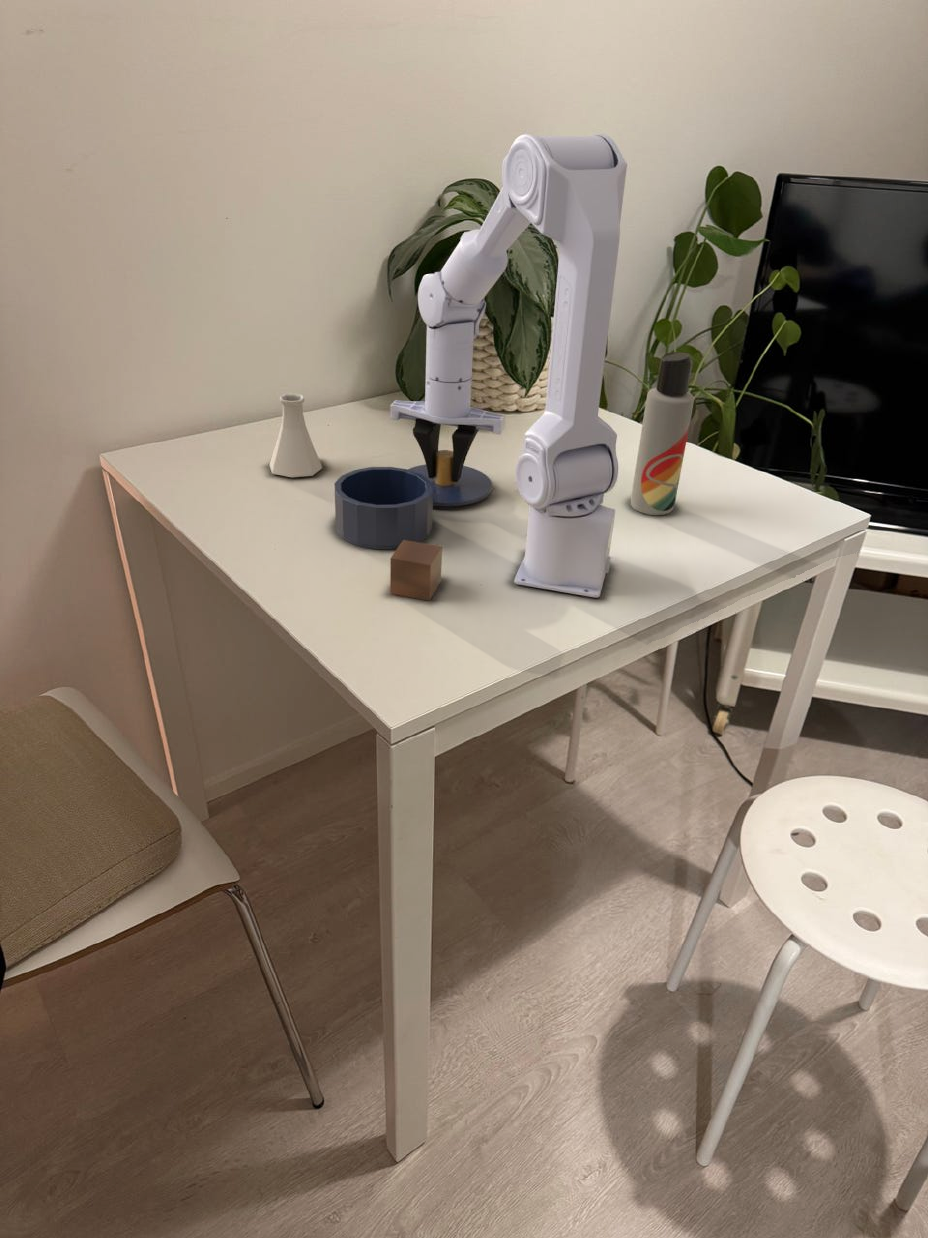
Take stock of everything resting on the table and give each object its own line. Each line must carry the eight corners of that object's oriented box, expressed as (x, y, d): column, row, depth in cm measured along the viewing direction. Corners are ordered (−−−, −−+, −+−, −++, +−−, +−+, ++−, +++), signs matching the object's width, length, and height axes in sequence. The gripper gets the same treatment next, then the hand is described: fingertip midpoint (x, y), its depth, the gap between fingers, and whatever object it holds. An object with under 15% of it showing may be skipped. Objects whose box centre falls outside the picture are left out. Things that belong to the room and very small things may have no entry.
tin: (442, 514, 114) (444, 474, 111) (415, 556, 104) (415, 514, 102) (355, 500, 116) (355, 461, 113) (321, 540, 107) (319, 498, 104)
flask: (318, 480, 121) (315, 408, 115) (264, 477, 121) (258, 405, 115) (326, 459, 127) (323, 389, 122) (274, 456, 127) (269, 386, 121)
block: (440, 581, 100) (442, 546, 98) (429, 601, 96) (430, 564, 94) (402, 574, 101) (403, 539, 98) (390, 594, 97) (390, 558, 95)
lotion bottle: (673, 518, 116) (702, 363, 105) (628, 512, 117) (653, 358, 106) (673, 500, 121) (701, 350, 110) (631, 494, 122) (654, 345, 111)
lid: (500, 478, 124) (503, 443, 121) (478, 516, 114) (481, 479, 111) (413, 465, 127) (413, 430, 124) (383, 501, 116) (383, 464, 114)
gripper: (512, 373, 114) (505, 473, 121) (402, 359, 117) (401, 458, 124) (500, 390, 108) (493, 494, 115) (385, 375, 111) (385, 477, 118)
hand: (444, 477), depth 119 cm, fingers closed on lid, 3 cm apart
